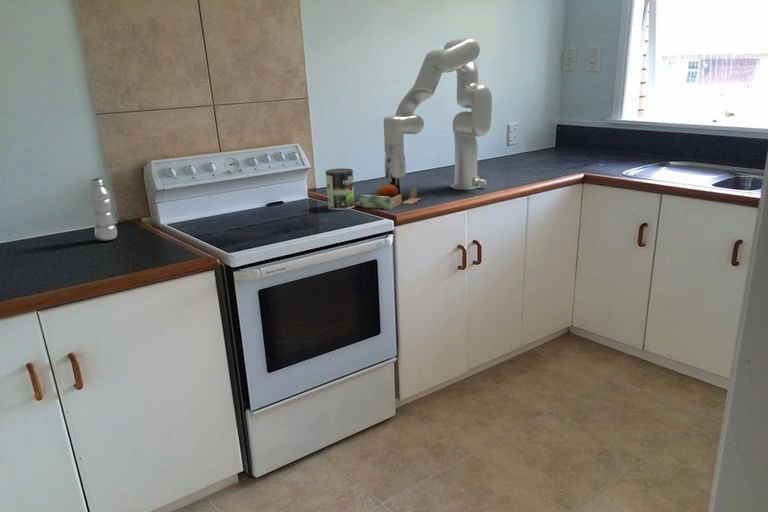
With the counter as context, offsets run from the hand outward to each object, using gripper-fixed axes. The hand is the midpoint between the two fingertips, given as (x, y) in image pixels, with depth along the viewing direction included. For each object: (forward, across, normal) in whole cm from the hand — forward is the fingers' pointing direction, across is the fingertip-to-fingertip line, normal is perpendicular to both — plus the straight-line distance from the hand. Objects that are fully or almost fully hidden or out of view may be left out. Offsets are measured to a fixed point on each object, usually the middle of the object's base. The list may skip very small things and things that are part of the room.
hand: (395, 194), depth 236 cm
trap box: (+2, -6, 0) cm, 6 cm away
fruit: (+2, -6, 0) cm, 7 cm away
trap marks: (+2, -6, 0) cm, 6 cm away
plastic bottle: (+2, -87, +62) cm, 107 cm away
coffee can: (+2, -21, +13) cm, 24 cm away
